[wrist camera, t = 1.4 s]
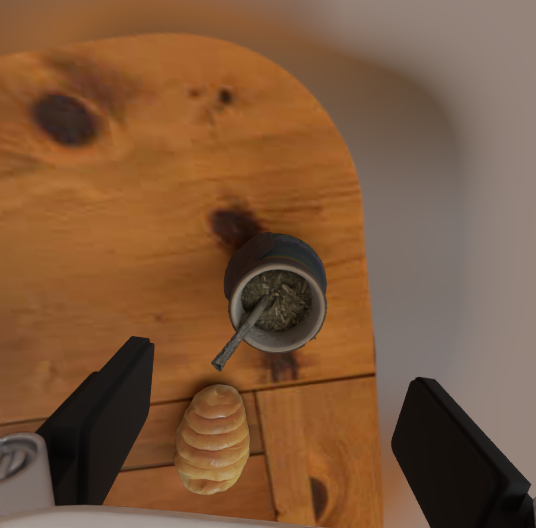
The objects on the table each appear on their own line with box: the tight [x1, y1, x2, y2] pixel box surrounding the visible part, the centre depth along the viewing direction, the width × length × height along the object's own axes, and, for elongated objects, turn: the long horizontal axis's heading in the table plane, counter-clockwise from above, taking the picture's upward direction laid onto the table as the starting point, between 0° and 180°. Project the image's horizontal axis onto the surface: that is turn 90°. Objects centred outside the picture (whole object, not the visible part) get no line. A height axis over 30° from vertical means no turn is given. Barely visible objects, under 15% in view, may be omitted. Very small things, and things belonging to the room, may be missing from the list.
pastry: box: [173, 384, 250, 495], centre depth 26 cm, size 9×7×4 cm
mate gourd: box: [211, 232, 327, 372], centre depth 19 cm, size 7×8×10 cm
